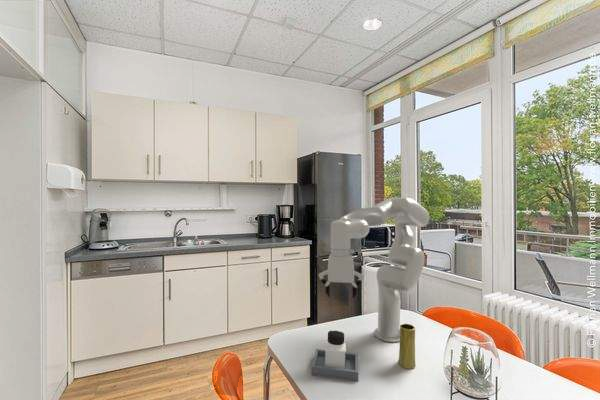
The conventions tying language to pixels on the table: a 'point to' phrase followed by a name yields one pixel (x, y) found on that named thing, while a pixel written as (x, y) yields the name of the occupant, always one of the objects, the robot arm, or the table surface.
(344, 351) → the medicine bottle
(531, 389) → the table surface
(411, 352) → the vase
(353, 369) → the tray
